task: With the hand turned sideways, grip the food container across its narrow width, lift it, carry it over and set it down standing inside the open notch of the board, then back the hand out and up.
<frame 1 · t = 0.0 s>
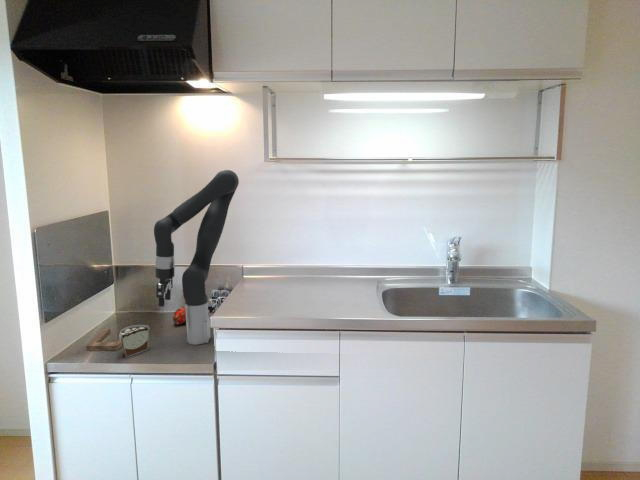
hand: (164, 302, 187), 17 cm above the worktop, tool pointing down, fingers open, 8 cm apart
notched board: (111, 341, 189), on the worktop
dragon fruit: (183, 323, 210), on the worktop
food container: (133, 351, 180), on the worktop
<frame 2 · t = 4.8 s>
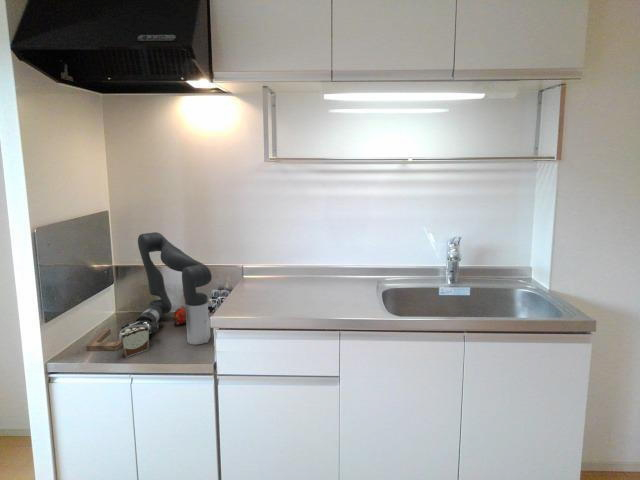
hand: (133, 334, 181), 6 cm above the worktop, tool horizontal, fingers open, 8 cm apart
nothing on the worktop moved.
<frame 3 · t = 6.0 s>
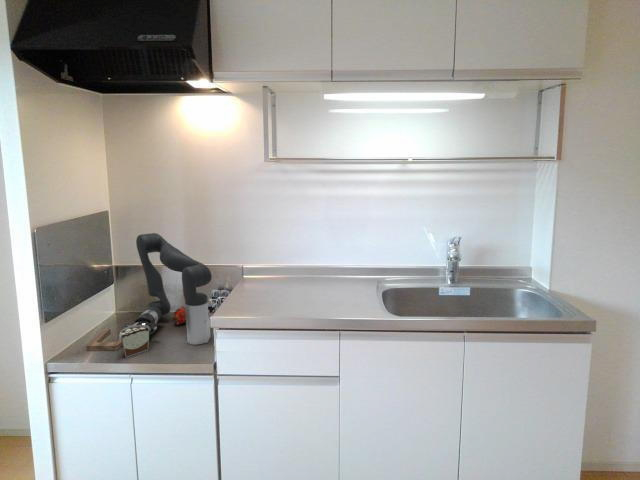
hand: (132, 336, 179), 6 cm above the worktop, tool horizontal, fingers open, 5 cm apart
nothing on the worktop moved.
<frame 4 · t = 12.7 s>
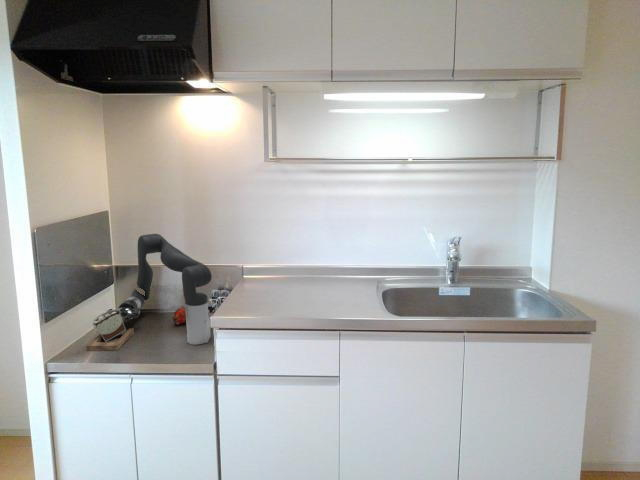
hand: (116, 319, 194), 7 cm above the worktop, tool horizontal, fingers open, 8 cm apart
food container: (113, 335, 194), point 1 cm above the worktop, touching gripper
everything else where it was.
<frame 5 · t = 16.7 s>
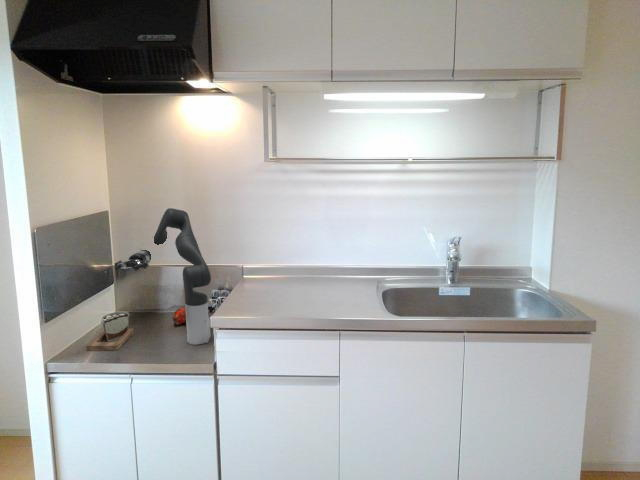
hand: (126, 268, 200), 28 cm above the worktop, tool horizontal, fingers open, 8 cm apart
food container: (114, 336, 195), resting in notched board
everything else where it was.
at the end: food container inside the target area on the notched board (4.2 cm from its centre), point 0.0 cm above the notched board's base; food container tilted 0°; the gripper is holding nothing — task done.
